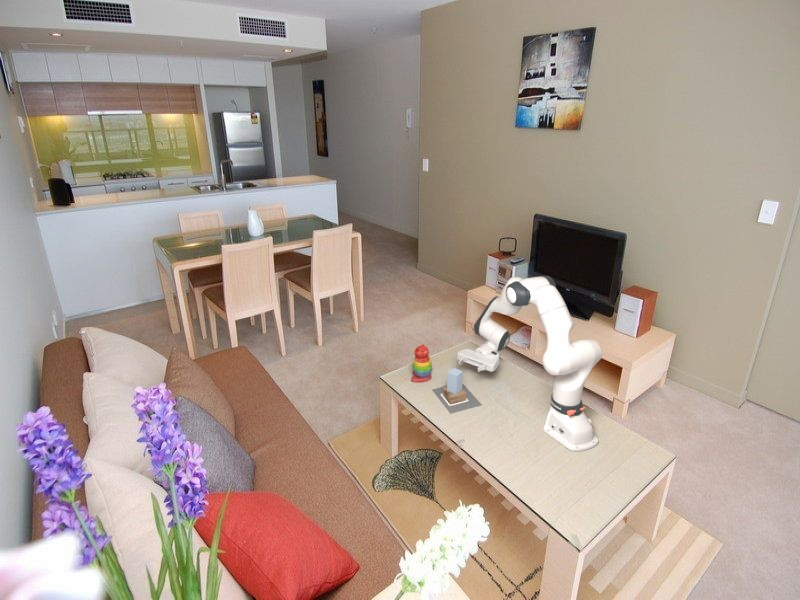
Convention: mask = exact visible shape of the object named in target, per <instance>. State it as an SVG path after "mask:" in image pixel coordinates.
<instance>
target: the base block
mask: <svg viewBox="0 0 800 600" xmlns="http://www.w3.org/2000/svg"><path fill="white" fill-rule="evenodd" d="M443 387H444V386H443ZM443 396H444V397H445V398H446V400H447V401H448V402H449V403H450V404H454V403H458V402H462V401H466V392H465V391H464V390H463V389H462V390H461V391H460V392H459V393H458V394H457V395H455V394H453V393H451V392H448V391H447V387H444V388H443Z"/></svg>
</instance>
